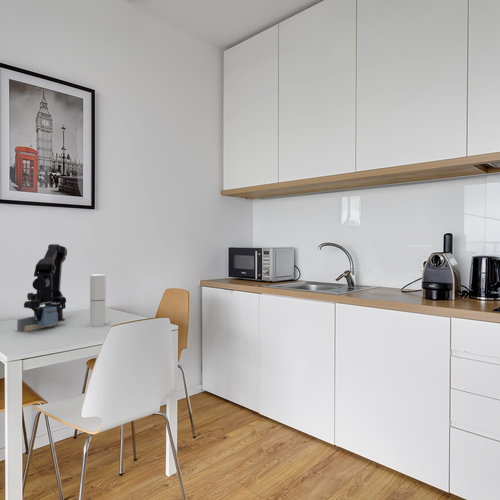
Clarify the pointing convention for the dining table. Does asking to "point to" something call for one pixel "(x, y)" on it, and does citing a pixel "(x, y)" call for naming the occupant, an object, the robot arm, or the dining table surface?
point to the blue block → (47, 316)
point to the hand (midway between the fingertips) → (45, 320)
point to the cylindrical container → (97, 300)
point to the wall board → (29, 324)
